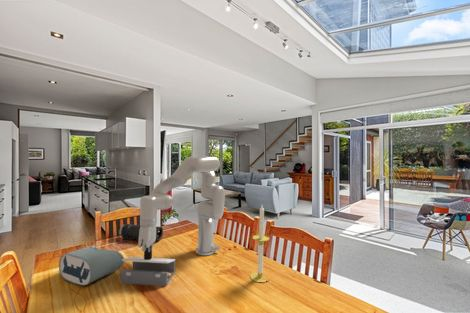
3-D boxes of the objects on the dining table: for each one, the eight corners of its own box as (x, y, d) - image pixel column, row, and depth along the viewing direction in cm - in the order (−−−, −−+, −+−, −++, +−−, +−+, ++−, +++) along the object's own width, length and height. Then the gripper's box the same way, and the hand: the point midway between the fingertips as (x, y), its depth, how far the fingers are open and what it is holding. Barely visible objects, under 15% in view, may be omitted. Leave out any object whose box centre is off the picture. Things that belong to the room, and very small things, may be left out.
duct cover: (175, 260, 117) (175, 259, 118) (167, 263, 106) (167, 261, 106) (133, 258, 119) (134, 256, 119) (122, 260, 107) (122, 259, 108)
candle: (254, 284, 109) (256, 206, 108) (247, 273, 118) (249, 202, 117) (273, 281, 111) (275, 205, 110) (265, 271, 121) (267, 201, 120)
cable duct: (174, 272, 118) (175, 260, 117) (165, 287, 105) (166, 274, 105) (133, 269, 119) (133, 258, 119) (119, 284, 106) (120, 271, 106)
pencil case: (58, 278, 109) (59, 251, 109) (95, 262, 127) (96, 239, 127) (89, 290, 101) (91, 261, 101) (124, 271, 119) (125, 246, 119)
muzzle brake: (156, 244, 152) (156, 229, 152) (118, 241, 156) (118, 226, 156) (163, 239, 161) (163, 224, 161) (126, 235, 165) (127, 221, 165)
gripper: (147, 216, 118) (147, 251, 118) (133, 226, 103) (132, 266, 103) (161, 217, 117) (161, 252, 118) (149, 227, 102) (148, 267, 103)
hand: (147, 258), depth 110 cm, fingers closed
